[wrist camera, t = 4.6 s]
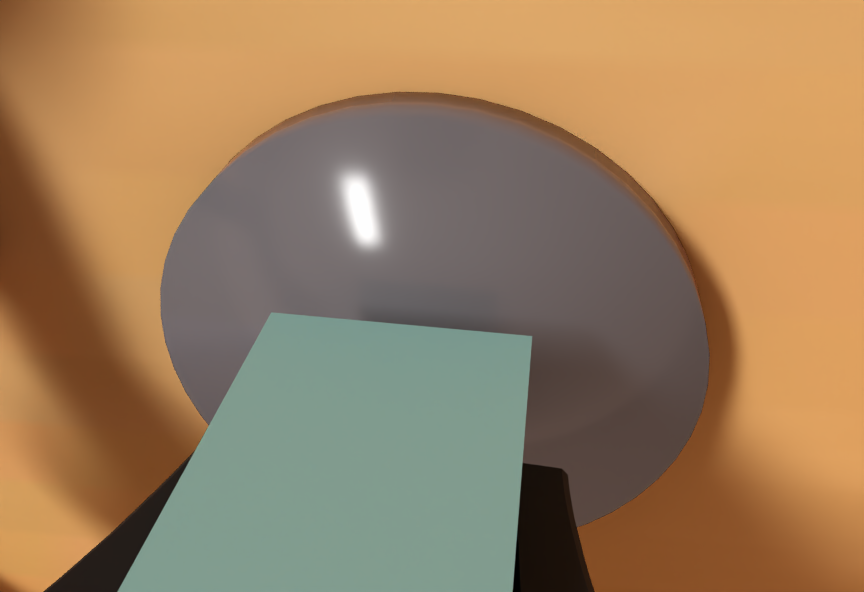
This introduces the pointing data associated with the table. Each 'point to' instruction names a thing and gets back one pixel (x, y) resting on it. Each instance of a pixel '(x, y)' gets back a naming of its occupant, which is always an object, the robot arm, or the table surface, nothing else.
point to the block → (352, 466)
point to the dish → (456, 269)
